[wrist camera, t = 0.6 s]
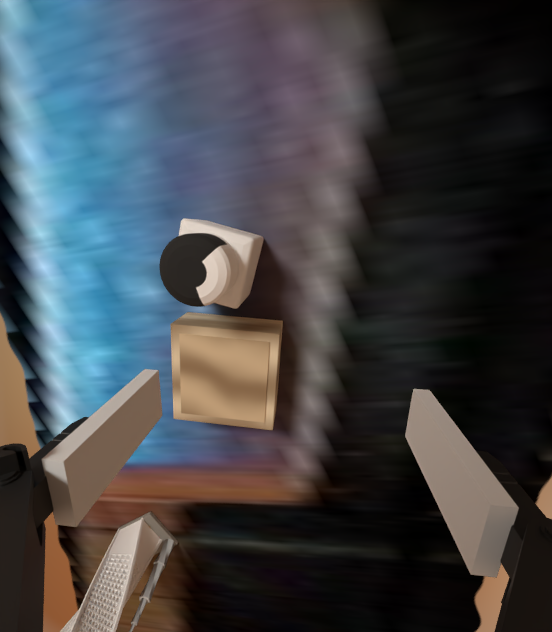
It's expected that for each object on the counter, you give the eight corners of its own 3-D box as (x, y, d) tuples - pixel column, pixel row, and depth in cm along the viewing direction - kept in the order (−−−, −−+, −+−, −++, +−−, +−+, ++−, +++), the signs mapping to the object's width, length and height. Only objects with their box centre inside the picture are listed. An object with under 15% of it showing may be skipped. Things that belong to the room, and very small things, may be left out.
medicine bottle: (193, 279, 37) (142, 301, 26) (205, 219, 35) (155, 214, 24) (249, 295, 37) (224, 325, 25) (264, 236, 35) (244, 240, 23)
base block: (187, 312, 38) (170, 324, 33) (282, 320, 37) (279, 334, 32) (189, 396, 42) (173, 419, 37) (276, 406, 41) (272, 431, 36)
